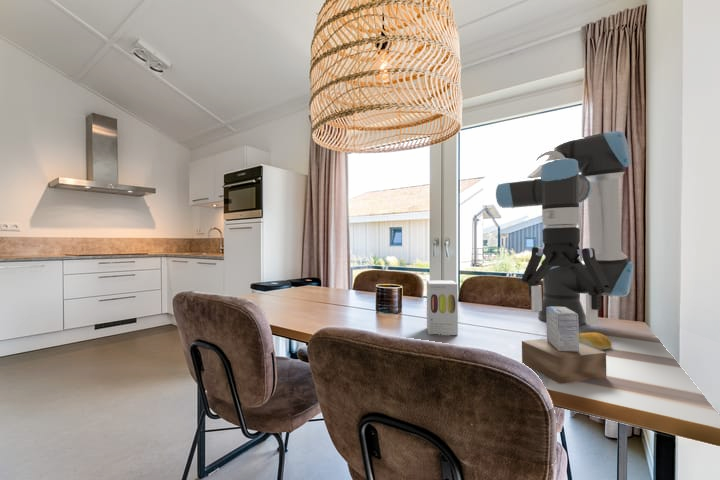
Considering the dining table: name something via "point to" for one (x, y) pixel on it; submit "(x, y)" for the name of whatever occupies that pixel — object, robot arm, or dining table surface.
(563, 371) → the walnut block
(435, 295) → the supplement box
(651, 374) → the dining table surface
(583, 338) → the bread roll
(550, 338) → the medicine box
